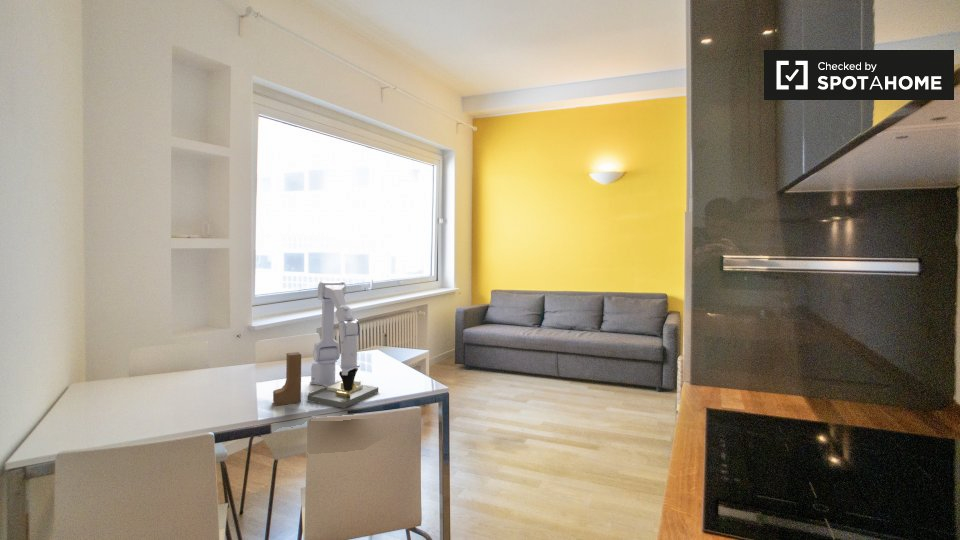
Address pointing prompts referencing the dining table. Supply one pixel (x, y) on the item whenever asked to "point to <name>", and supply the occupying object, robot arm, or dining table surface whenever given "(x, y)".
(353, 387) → the key
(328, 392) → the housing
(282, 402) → the wooden block
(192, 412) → the dining table surface
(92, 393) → the dining table surface
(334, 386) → the cover
